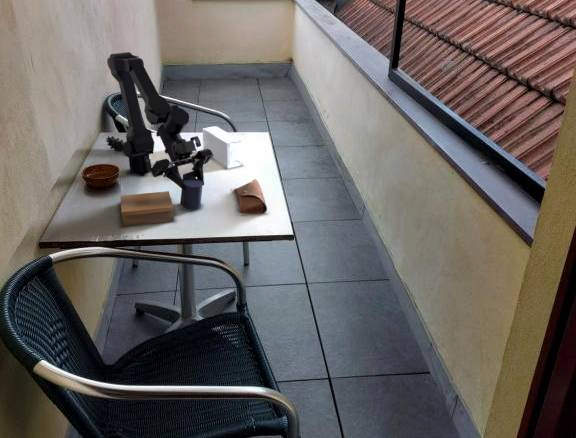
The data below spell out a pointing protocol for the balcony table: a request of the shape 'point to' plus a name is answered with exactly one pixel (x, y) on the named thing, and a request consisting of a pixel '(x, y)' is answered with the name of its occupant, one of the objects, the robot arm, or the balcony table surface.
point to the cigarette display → (220, 145)
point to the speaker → (191, 191)
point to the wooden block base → (146, 208)
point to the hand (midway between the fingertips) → (194, 187)
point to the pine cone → (116, 143)
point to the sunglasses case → (251, 198)
